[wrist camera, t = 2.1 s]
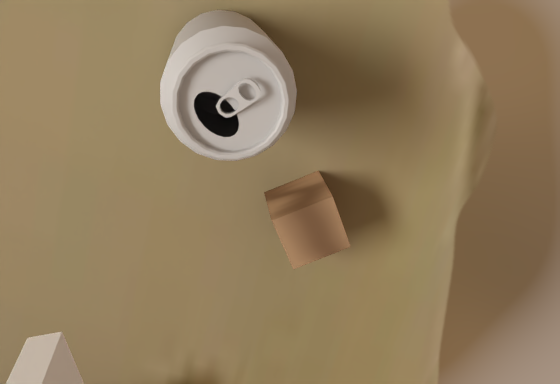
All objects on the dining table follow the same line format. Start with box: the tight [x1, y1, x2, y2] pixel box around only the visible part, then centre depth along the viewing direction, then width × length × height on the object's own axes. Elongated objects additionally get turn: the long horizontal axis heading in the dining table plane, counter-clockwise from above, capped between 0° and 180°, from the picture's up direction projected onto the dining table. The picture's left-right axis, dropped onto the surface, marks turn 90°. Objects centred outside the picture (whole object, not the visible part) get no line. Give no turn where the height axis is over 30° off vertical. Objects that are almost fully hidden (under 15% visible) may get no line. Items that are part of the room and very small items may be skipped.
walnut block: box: [264, 171, 351, 269], centre depth 39 cm, size 5×5×5 cm
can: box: [160, 10, 297, 161], centre depth 29 cm, size 8×8×12 cm
